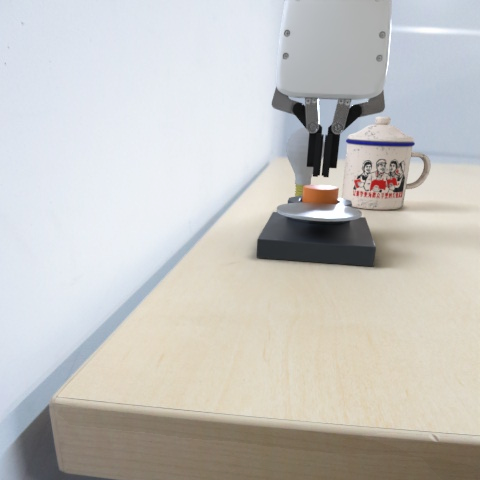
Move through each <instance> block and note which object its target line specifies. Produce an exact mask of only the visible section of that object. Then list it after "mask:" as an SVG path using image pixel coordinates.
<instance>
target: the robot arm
mask: <svg viewBox="0 0 480 480" xmlns="http://www.w3.org/2000/svg"><path fill="white" fill-rule="evenodd" d="M392 3H393V0H284V2H283V7H282V13H281V20H280V26H279V35H278V42H277V43H278V45H277V52H276V55H277V56H276V63H275V64H276V65H275V85H276V86H275V89H274V93H273V95H272V96H273V97H272V100H271V107H272V108H273V109H274V110H278V111H280V112H283V113H286V114H290V115H294V116H295V117H296V119H298V121H299V122H300V123H301V125H302V126H303V127H305V128H306V129H307V131H308V132H309V142H308V154H307V167H313V174H312V177H314V178H315V177H316V178H318V177H320V176H321V177H323V178H330V177H329V176H330V169H337V167H338V159H339V150H340V141H341V134H342V133H343V132H344V131H346V129H348V128H349V126H351V125H352V124H353V123H354V122H355V121H357V119H359V118H364V117H367V116H372V115H376V114H381V113H383V112H384V111H385V109H386V99H385V90H384V89H385V85H386V80H387V76H388V75H387V73H388V67H389V58H390V46H391V35H392V34H391V33H392V9H393V8H392V7H393V6H392ZM291 98H293V99H291ZM294 99H304V103H302V102H300V101H297V100H294ZM319 100H331V101H332V100H333V101H334V100H336V101H337V102H336V106H335V108H334V109H335V110H334V114H333V118H332V122H331V124H330V125H329V126H328V128H327V134H323V126H322V125H321V123H320V105H319ZM352 101H364V102H361V103H360V102H359V103H355V104H352ZM351 104H352V105H351ZM323 139H324V142H325V144H324V155H323V158H322V149H323ZM321 159H322V160H321Z"/></svg>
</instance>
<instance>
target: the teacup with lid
mask: <svg viewBox="0 0 480 480" xmlns="http://www.w3.org/2000/svg"><path fill="white" fill-rule="evenodd" d="M345 143H347V144H346V153H345V162H344V172H343V181H342V188H341V189H342V190H341V198H343V199H346V200H349V201H351V202H352V208H356V209H357V208H358V209H364V210H373V211H374V210H377V211H380V210H381V211H385V210H386V211H390V210H398V209H400V208H402V207H403V206H404V202H405V198H406V197H405V195H406V190H412V189H416V188H419V187H420V186H421V185H422V184H424V182H425V181H426V180H427V178H428V176H429V175H430V171H431V167H432V164H431V160H430V158H429V156H428V155H427V154H426V153H423V152H420V151H413V147H414V146H415V138H414V137H413V136H411V135H409V134H406V133H404V132H403V131H402V130H400V128H399V127H397V126H395V125H391V117H390V116H375V118H374V124H369V125H367V126H365V127H363V128H362V129H361V130H358V131H357V132H353V133H350V134H348V136H347V139H345ZM411 158H419V159H421V160H422V162H423V170H422V172H421V174H420V175H419V177H418V178H417V179H416V180H414V181H413V182H410V183H408V177H409V171H410V163H411V160H412V159H411Z"/></svg>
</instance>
